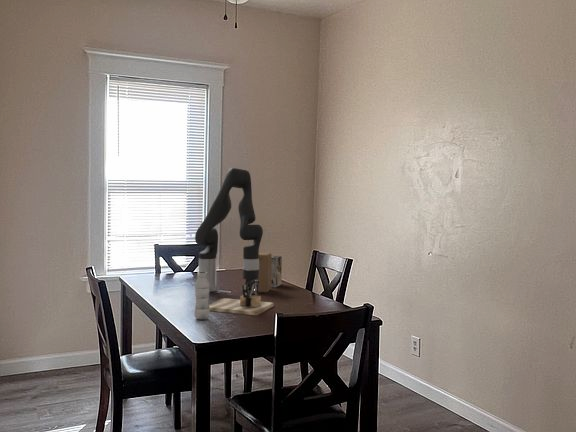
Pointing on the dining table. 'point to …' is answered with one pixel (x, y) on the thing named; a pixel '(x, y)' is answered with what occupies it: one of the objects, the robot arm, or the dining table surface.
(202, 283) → the plastic bottle
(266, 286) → the wooden block
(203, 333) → the dining table surface
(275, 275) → the coffee box
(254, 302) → the block
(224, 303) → the board
